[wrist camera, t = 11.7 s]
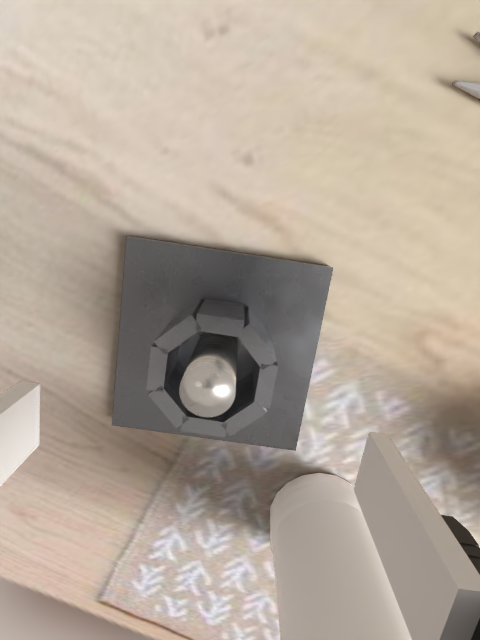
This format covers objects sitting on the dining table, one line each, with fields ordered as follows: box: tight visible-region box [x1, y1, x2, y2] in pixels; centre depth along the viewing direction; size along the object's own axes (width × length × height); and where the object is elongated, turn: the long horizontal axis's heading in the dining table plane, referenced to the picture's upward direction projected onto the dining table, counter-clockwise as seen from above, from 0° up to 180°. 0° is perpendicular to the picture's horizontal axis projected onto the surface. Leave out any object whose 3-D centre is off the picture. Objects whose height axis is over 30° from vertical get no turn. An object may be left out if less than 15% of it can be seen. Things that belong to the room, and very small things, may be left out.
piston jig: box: [112, 236, 333, 451], centre depth 24 cm, size 14×14×8 cm
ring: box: [146, 298, 278, 438], centre depth 24 cm, size 7×7×5 cm
